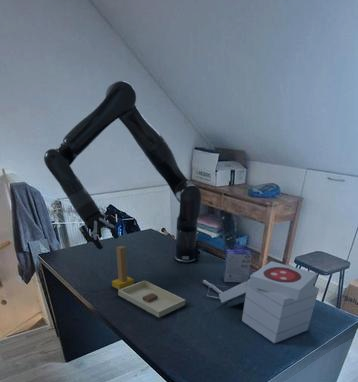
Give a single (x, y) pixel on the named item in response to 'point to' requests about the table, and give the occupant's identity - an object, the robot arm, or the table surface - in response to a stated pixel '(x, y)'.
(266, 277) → the pizza boxes
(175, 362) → the table surface
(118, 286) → the peg stand
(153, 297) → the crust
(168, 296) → the tray
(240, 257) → the ink cartridge box
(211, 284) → the crossbow
